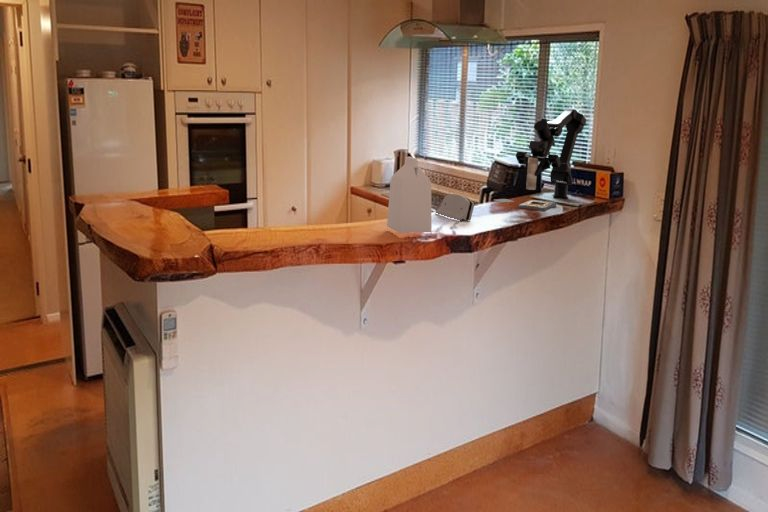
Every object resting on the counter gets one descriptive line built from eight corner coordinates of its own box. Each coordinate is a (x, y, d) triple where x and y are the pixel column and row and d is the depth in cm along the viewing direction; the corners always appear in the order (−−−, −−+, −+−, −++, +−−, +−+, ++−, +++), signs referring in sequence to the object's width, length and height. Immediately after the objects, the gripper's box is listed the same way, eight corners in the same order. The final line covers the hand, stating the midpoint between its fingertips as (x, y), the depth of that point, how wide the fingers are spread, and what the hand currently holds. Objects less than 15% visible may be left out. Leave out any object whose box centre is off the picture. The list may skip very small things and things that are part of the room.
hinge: (434, 214, 269) (442, 189, 268) (443, 217, 272) (451, 193, 271) (460, 222, 255) (468, 196, 254) (469, 225, 258) (478, 200, 257)
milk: (386, 231, 238) (388, 155, 231) (416, 229, 242) (419, 155, 235) (400, 238, 227) (402, 160, 220) (431, 236, 231) (434, 159, 225)
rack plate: (531, 203, 298) (531, 199, 298) (556, 205, 293) (556, 202, 292) (518, 208, 285) (518, 204, 285) (543, 211, 280) (544, 207, 279)
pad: (505, 199, 305) (505, 198, 305) (514, 202, 299) (514, 201, 299) (492, 200, 302) (492, 199, 302) (501, 203, 296) (501, 202, 296)
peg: (524, 188, 290) (526, 157, 287) (532, 188, 291) (535, 157, 288) (528, 189, 287) (531, 158, 283) (537, 189, 288) (539, 158, 284)
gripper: (519, 132, 292) (504, 160, 286) (560, 135, 281) (546, 164, 275) (526, 149, 300) (512, 177, 294) (566, 153, 289) (553, 181, 283)
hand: (530, 174), depth 286 cm, fingers closed on peg, 4 cm apart
